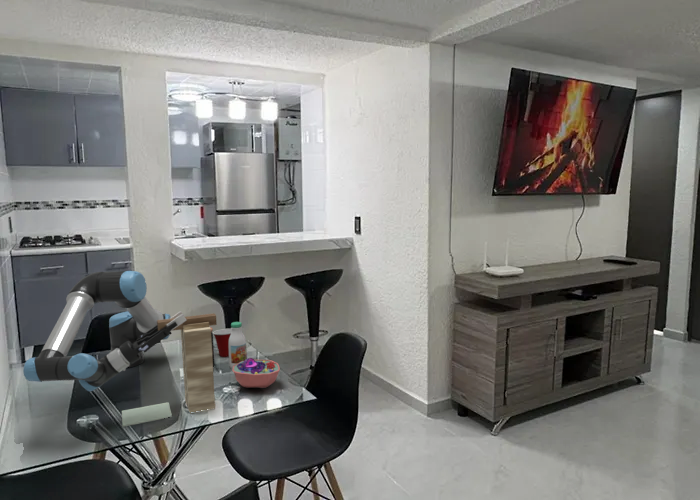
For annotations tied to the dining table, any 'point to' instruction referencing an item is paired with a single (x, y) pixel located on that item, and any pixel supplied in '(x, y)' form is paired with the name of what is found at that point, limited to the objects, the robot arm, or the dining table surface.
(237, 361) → the milk bottle
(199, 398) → the wooden block tower
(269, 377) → the cell model
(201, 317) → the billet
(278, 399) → the dining table surface
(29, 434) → the dining table surface
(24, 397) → the dining table surface
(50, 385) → the dining table surface
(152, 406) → the mat
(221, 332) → the plastic cup
